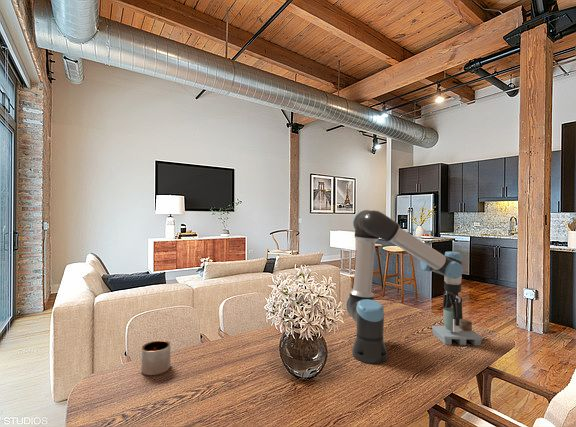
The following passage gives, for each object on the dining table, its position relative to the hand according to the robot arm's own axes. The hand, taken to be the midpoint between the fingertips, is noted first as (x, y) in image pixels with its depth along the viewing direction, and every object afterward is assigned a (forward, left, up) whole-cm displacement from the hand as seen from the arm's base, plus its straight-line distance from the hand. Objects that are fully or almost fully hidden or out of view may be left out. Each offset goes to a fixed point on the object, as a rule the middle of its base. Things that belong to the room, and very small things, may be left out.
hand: (451, 328), depth 155 cm
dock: (+3, +2, -6) cm, 7 cm away
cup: (0, 0, -1) cm, 1 cm away
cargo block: (+9, +5, -2) cm, 11 cm away
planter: (-134, -34, -6) cm, 138 cm away
